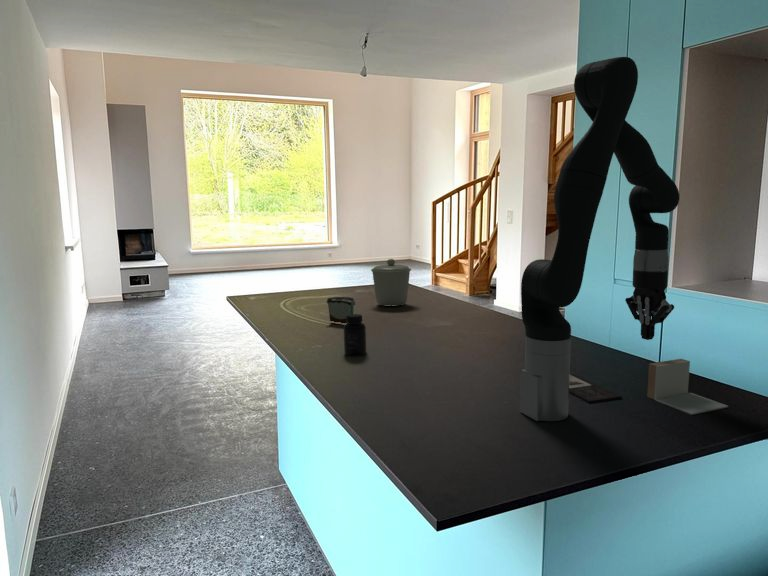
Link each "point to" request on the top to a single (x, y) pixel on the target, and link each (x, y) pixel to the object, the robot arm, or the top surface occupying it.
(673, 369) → the tile
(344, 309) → the food container
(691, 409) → the mat
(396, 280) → the canister
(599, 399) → the chocolate bar
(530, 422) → the top surface
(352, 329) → the supplement bottle
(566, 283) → the robot arm
